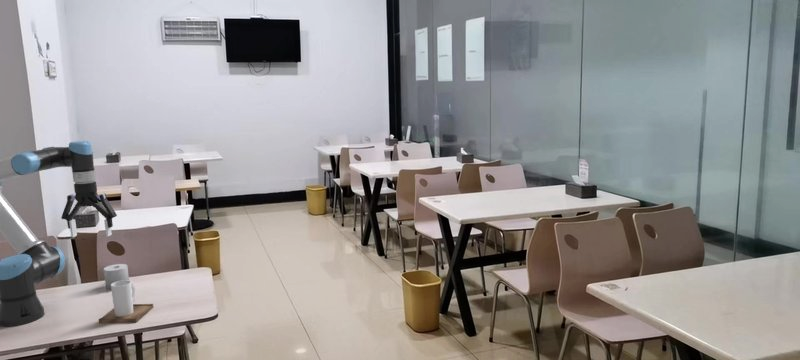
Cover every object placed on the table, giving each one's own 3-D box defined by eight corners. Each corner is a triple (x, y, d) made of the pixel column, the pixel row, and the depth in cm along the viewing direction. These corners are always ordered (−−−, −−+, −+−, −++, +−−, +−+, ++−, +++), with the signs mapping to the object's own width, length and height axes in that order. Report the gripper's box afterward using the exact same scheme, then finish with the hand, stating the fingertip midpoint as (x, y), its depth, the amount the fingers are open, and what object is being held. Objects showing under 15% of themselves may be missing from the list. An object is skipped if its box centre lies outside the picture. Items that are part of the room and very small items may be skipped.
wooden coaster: (99, 323, 214) (98, 319, 213) (117, 308, 228) (117, 304, 227) (136, 322, 213) (136, 318, 213) (153, 307, 227) (152, 303, 227)
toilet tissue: (126, 278, 262) (124, 260, 261) (130, 287, 251) (128, 268, 250) (104, 282, 258) (101, 264, 256) (107, 291, 246) (105, 272, 245)
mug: (125, 318, 215) (121, 287, 213) (110, 316, 216) (106, 285, 214) (144, 307, 224) (140, 277, 222) (129, 306, 226) (125, 276, 224)
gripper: (46, 184, 218) (53, 239, 221) (112, 182, 217) (118, 238, 221) (58, 181, 225) (65, 234, 229) (122, 179, 224) (128, 232, 228)
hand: (91, 236), depth 225 cm, fingers open, 13 cm apart
